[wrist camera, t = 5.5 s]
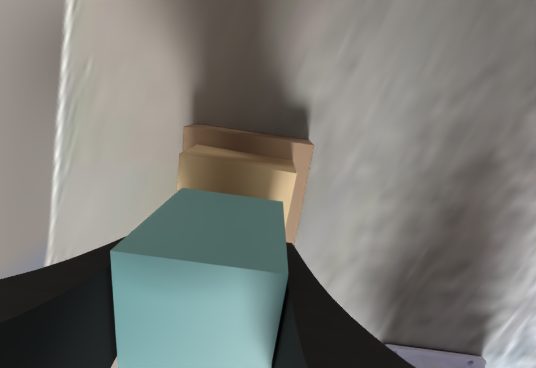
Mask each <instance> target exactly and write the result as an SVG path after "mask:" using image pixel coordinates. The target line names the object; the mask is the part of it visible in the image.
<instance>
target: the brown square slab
mask: <svg viewBox="0 0 536 368" xmlns="http://www.w3.org/2000/svg"><path fill="white" fill-rule="evenodd" d="M197 144H198V145H204V146H210V147H216V148H221V149H227V150H233V151H239V152H245V153H251V154H257V155H263V156H268V157H274V158H280V159H286V160H292V161H293V163H294V166H295V169H296V172H297V176H296V180H295V185H294V190H293V195H292V199H291V204H290V209H289V213H288V218H287V223H286V228H285V235H286V242H288V243H292V244H293V245H294V246H295V241H296V236H297V230H298V225H299V220H300V215H301V210H302V205H303V200H304V194H305V189H306V184H307V179H308V174H309V169H310V163H311V158H312V153H313V148H314V145H313V144H312V143H311V142H310V141H309V140H306V139H299V138H292V137H285V136H278V135H271V134H264V133H257V132H250V131H243V130H236V129H229V128H222V127H215V126H208V125H201V124H193V125H189V126H184V133H183V151H185V150H187V149H189V148H191V147H193V146H195V145H197Z"/></svg>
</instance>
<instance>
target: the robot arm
mask: <svg viewBox="0 0 536 368" xmlns="http://www.w3.org/2000/svg"><path fill="white" fill-rule="evenodd" d="M124 238H125V237H123V238H121V239H119V240H117V241H114V242H112V243H110V244H107V245H105V246H102V247H100V248H97V249H95V250H92V251H89V252H87V253H84V254H82V255H79V256H77V257H74V258H71V259H68V260H65V261H62V262H59V263H56V264H53V265H50V266H47V267H44V268H40V269H37V270H34V271H30V272H26V273H23V274H19V275H15V276H11V277H8V278H4V279H0V368H111V366H112V364H113V362H114V360H115V358H116V357H117V344H116V330H115V315H114V300H113V286H112V271H111V256H110V250H112V249H113V248H114V247H115V246H116V245H117V244H118V243H120V242H121V241H122V240H123V239H124ZM286 248H287V261H288V280H287V285H286V290H285V296H284V301H283V306H282V311H281V317H280V322H279V327H278V333H277V338H276V343H275V348H274V354H273V359H272V368H485V366H486V363H487V362H486V360H485V359H484V358H483V357H481V356H474V355H466V354H458V353H451V352H443V351H436V350H428V349H420V348H413V347H405V346H397V345H390V344H386V345H384V344H383V343H382V342H380V341H379V340H378V339H377V338H375V337H374V336H373V335H372V334H370V333H369V332H368V331H367V330H366V329H365V328H364V327H362V326H361V325H360V324H359V323H358V322H357V321H355V320H354V319H353V318H352V317H351V316H350V315H349V314H348V313H347V312H346V311H345V310H344V309H343V308H342V307H341V306H340V305H339V304H338V303H337V302H336V301H335V300H334V299H333V298H332V297H331V296H330V295H329V294H328V292H327V291H326V290H325V289H324V288H323V286H322V285H321V284H320V283H319V282H318V280H317V279H316V278H315V276H314V275H313V274H312V272H311V271H310V270H309V268H308V267H307V265H306V264H305V262H304V261H303V259H302V258H301V256H300V255H299V253H298V251H297V250H296V248H295V247H294V245H293V244H292V243H288V242H286Z"/></svg>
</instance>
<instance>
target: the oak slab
mask: <svg viewBox="0 0 536 368" xmlns="http://www.w3.org/2000/svg"><path fill="white" fill-rule="evenodd" d="M296 176H297V172H296V169H295V166H294V163H293V161H292V160H286V159H280V158H274V157H268V156H263V155H257V154H251V153H245V152H239V151H233V150H227V149H221V148H216V147H210V146H204V145H198V144H197V145H195V146H193V147H191V148H189V149H187V150H185V151H183V152H182V153H180V154H179V168H178V185H177V192H178V191H179V190H180V189H181V188H188V189H195V190H202V191H210V192H217V193H224V194H232V195H239V196H246V197H254V198H261V199H268V200H276V201H283V208H284V221H285V228H286V223H287V218H288V213H289V209H290V204H291V199H292V195H293V190H294V185H295V180H296Z"/></svg>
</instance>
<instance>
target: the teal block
mask: <svg viewBox="0 0 536 368" xmlns="http://www.w3.org/2000/svg"><path fill="white" fill-rule="evenodd" d="M110 256H111V271H112V286H113V300H114V315H115V330H116V344H117V359H118V368H271V364H272V359H273V354H274V348H275V343H276V338H277V333H278V327H279V322H280V317H281V311H282V306H283V301H284V296H285V290H286V285H287V280H288V261H287V248H286V235H285V221H284V208H283V201H276V200H268V199H261V198H254V197H246V196H239V195H232V194H224V193H217V192H210V191H202V190H195V189H188V188H181V189H180V190H179V191H178V192H177V193H176V194H174V195H173V196H172V197H171V198H170V199H169V200H168V201H166V202H165V203H164V204H163V205H162V206H161V207H160V208H158V209H157V210H156V211H155V212H154V213H153V214H152V215H150V216H149V217H148V218H147V219H146V220H145V221H144V222H142V223H141V224H140V225H139V226H138V227H137V228H136V229H134V230H133V231H132V232H131V233H130V234H129V235H128V236H126V237H125V238H124V239H123V240H122V241H121V242H120V243H118V244H117V245H116V246H115V247H114V248H113V249H112V250H110Z"/></svg>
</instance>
